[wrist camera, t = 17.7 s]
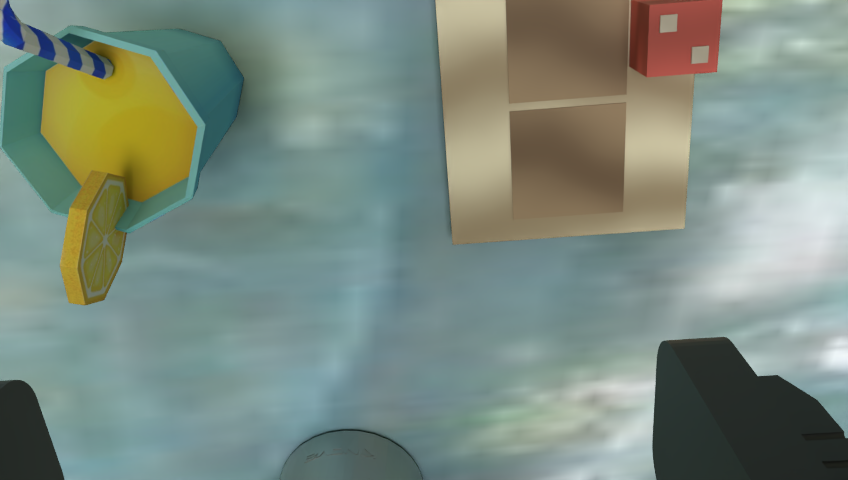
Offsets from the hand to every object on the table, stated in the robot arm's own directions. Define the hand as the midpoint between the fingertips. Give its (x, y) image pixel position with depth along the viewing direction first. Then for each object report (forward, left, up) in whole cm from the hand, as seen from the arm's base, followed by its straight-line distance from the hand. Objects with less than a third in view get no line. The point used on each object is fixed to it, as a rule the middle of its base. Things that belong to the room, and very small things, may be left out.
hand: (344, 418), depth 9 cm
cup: (+1, +11, -28) cm, 30 cm away
